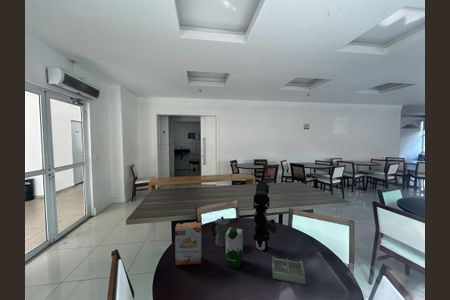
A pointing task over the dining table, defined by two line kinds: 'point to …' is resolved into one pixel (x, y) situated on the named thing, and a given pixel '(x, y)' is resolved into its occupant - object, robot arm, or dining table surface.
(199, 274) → the dining table surface
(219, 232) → the coffeepot
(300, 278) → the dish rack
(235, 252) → the milk carton
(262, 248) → the jar
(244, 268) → the dining table surface
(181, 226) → the cracker box
